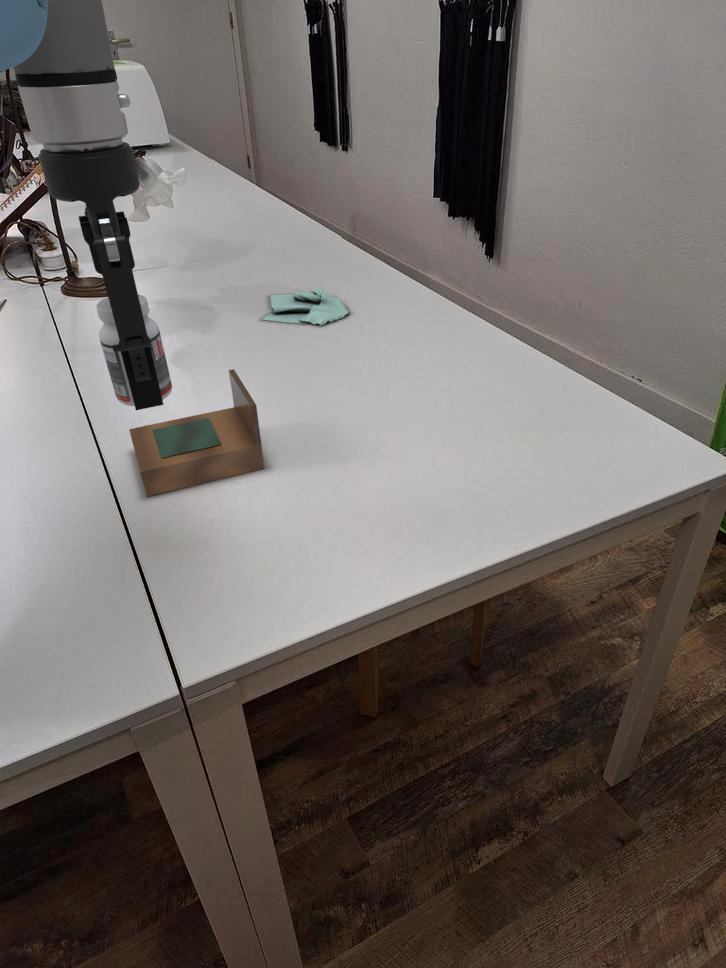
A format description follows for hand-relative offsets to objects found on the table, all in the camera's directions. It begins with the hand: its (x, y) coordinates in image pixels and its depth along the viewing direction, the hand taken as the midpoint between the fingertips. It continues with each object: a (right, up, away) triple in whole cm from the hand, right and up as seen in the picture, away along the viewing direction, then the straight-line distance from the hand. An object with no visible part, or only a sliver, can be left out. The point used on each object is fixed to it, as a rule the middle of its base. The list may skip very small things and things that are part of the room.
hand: (145, 392), depth 68 cm
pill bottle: (0, -1, 0) cm, 1 cm away
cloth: (+10, +29, +75) cm, 81 cm away
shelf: (-1, -6, +25) cm, 25 cm away
